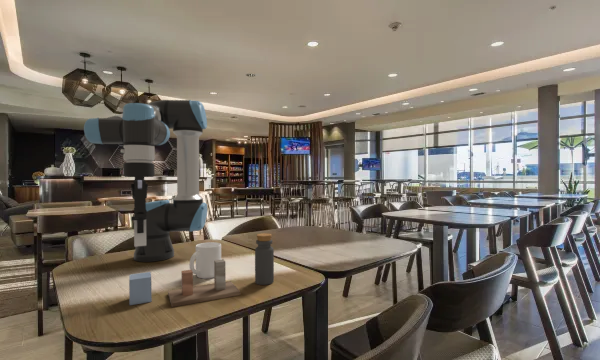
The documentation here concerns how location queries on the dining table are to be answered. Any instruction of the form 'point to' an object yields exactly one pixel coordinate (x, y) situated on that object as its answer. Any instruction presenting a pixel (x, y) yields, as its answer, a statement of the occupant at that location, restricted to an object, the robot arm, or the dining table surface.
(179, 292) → the stand
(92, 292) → the dining table surface
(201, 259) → the mug
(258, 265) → the bottle
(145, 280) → the light blue block
